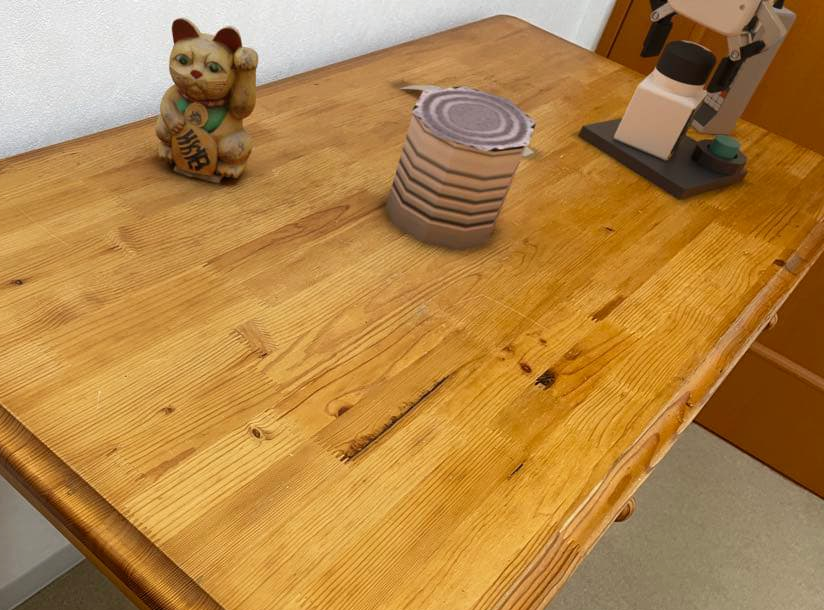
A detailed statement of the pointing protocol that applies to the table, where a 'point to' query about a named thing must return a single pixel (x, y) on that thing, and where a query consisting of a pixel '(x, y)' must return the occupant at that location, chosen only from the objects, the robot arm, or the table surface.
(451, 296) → the table surface
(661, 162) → the scale
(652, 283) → the table surface
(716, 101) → the vintage mobile phone
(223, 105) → the decorative figurine
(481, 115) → the can
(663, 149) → the medicine bottle
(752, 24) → the robot arm
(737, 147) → the button
